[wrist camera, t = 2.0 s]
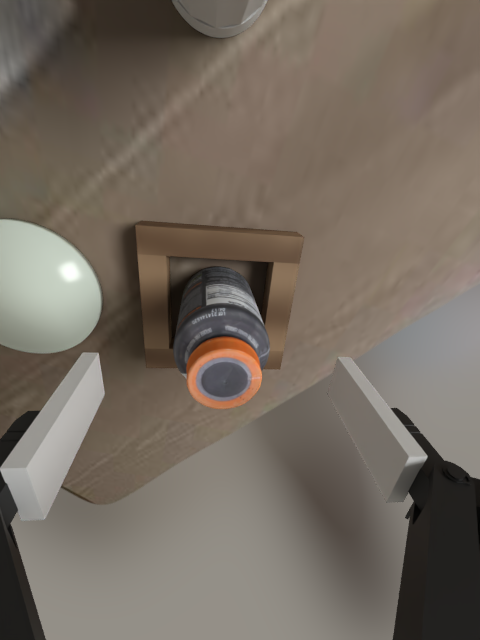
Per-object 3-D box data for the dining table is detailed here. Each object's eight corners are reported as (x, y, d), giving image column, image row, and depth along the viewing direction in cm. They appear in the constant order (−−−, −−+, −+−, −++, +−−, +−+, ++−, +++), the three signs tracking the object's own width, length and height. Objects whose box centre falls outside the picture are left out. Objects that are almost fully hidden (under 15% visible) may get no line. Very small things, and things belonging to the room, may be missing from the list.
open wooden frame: (141, 220, 21) (135, 225, 20) (297, 232, 23) (304, 237, 21) (150, 354, 27) (146, 367, 25) (275, 356, 28) (280, 369, 27)
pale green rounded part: (-76, 212, 20) (-86, 213, 19) (92, 224, 21) (88, 226, 20) (-23, 347, 25) (-30, 352, 24) (110, 349, 26) (107, 354, 25)
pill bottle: (206, 338, 27) (204, 439, 17) (168, 286, 24) (140, 369, 14) (263, 308, 26) (297, 396, 16) (231, 251, 23) (248, 312, 13)
